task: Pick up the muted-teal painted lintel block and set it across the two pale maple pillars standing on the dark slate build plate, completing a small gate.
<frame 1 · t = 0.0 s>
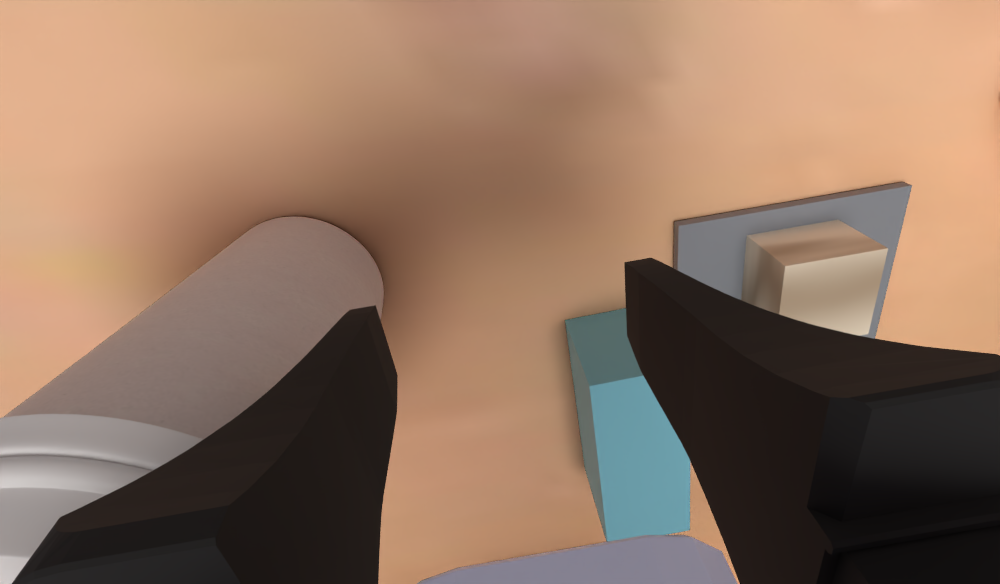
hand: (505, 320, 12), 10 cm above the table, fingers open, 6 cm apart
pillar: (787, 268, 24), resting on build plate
coffee cup: (308, 284, 23), on the table, touching gripper
build plate: (774, 318, 26), on the table
lintel: (613, 391, 28), on the table
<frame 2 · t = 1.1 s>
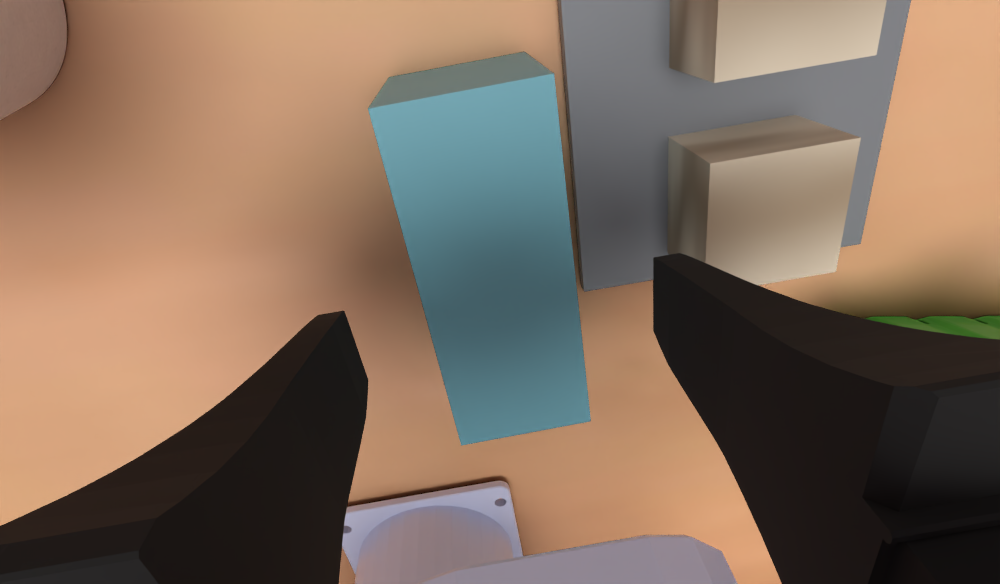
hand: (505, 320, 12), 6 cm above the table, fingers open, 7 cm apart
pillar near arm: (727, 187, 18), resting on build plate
fruit basket: (890, 351, 23), on the table
build plate: (726, 89, 16), on the table
lintel: (486, 220, 18), on the table
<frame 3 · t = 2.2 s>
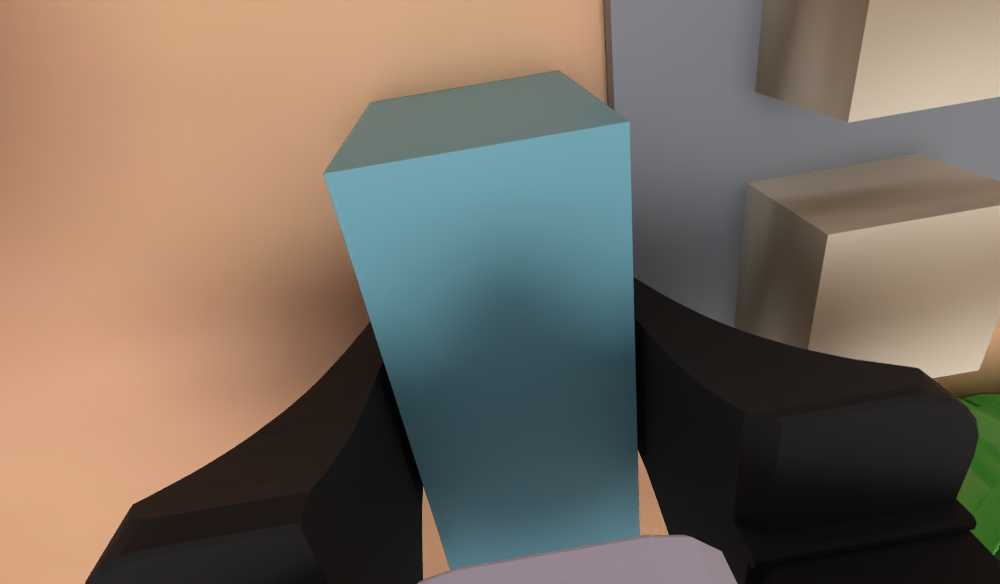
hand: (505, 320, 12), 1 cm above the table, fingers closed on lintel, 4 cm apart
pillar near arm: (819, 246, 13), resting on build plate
fruit basket: (993, 431, 18), on the table
build plate: (826, 119, 12), on the table
lintel: (499, 290, 14), on the table, touching gripper
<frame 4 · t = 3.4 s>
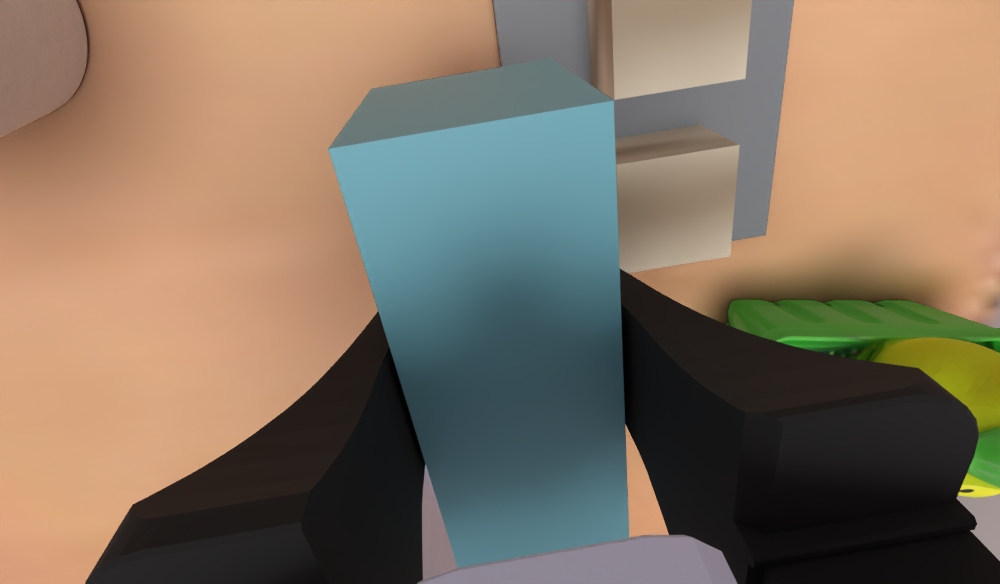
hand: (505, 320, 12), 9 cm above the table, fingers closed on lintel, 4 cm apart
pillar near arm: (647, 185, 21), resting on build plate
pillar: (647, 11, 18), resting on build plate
fruit basket: (804, 331, 26), on the table
build plate: (642, 102, 20), on the table
lintel: (495, 272, 14), point 7 cm above the table, touching gripper
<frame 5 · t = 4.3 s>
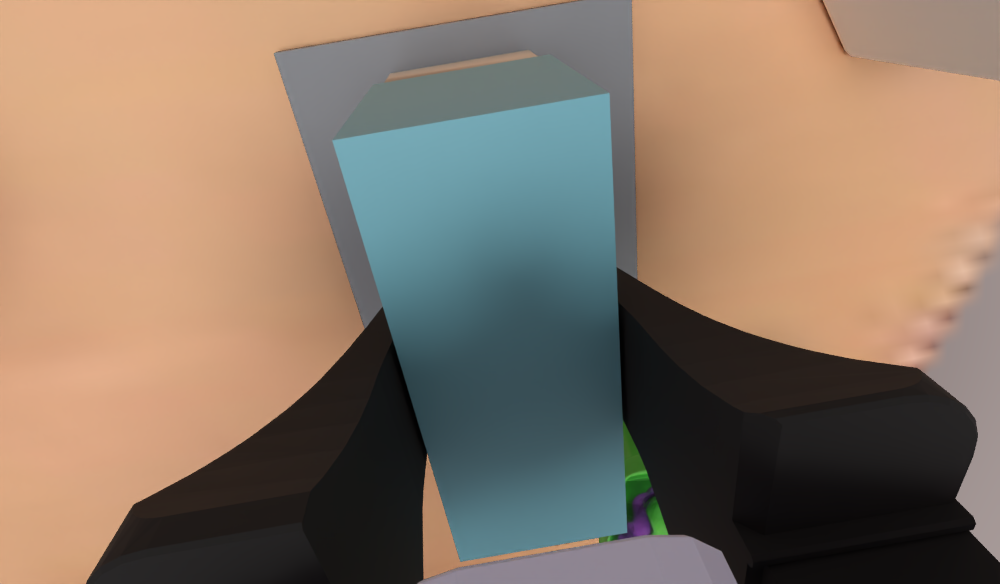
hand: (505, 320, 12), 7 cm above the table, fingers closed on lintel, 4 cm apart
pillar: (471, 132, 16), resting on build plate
fruit basket: (700, 428, 24), on the table
build plate: (486, 217, 18), on the table
lintel: (495, 265, 14), point 4 cm above the table, touching gripper
when the fingers open (6 cm above the table, at t = 4.8 s): lintel stays where it is, resting on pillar, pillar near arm.
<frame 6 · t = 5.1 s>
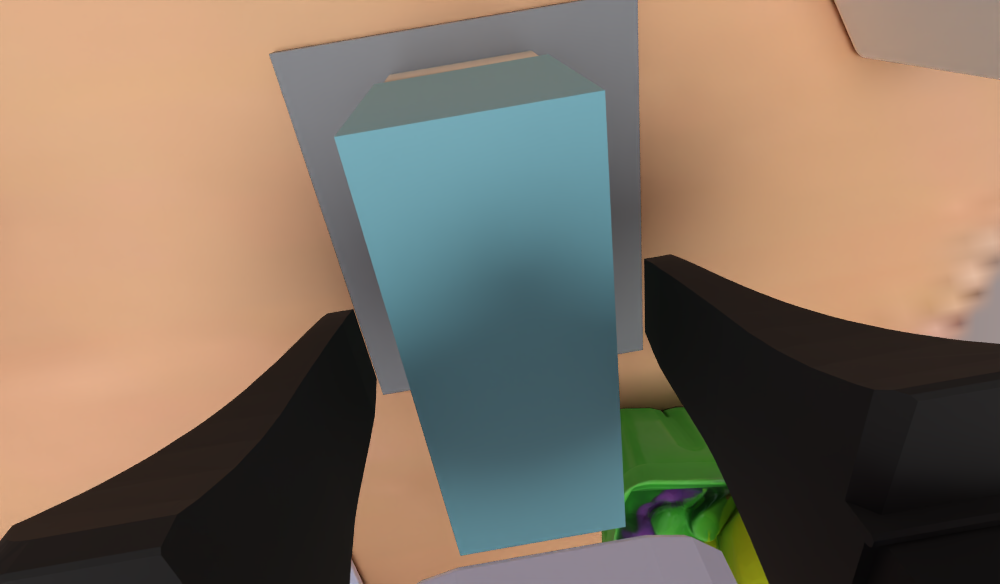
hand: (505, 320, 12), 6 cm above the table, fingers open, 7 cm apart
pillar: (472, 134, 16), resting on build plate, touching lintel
fruit basket: (704, 435, 24), on the table
build plate: (487, 221, 18), on the table
lintel: (494, 263, 15), point 3 cm above the table, touching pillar, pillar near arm
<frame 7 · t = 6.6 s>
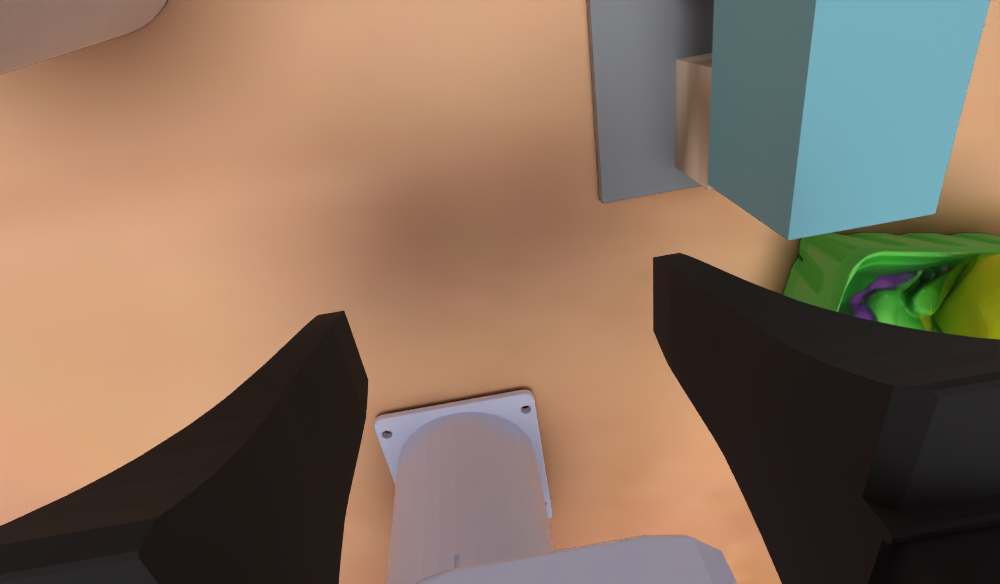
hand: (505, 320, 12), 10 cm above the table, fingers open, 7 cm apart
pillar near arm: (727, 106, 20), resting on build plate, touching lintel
fruit basket: (874, 268, 25), on the table
build plate: (725, 18, 19), on the table
lintel: (777, 14, 16), point 3 cm above the table, touching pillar, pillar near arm
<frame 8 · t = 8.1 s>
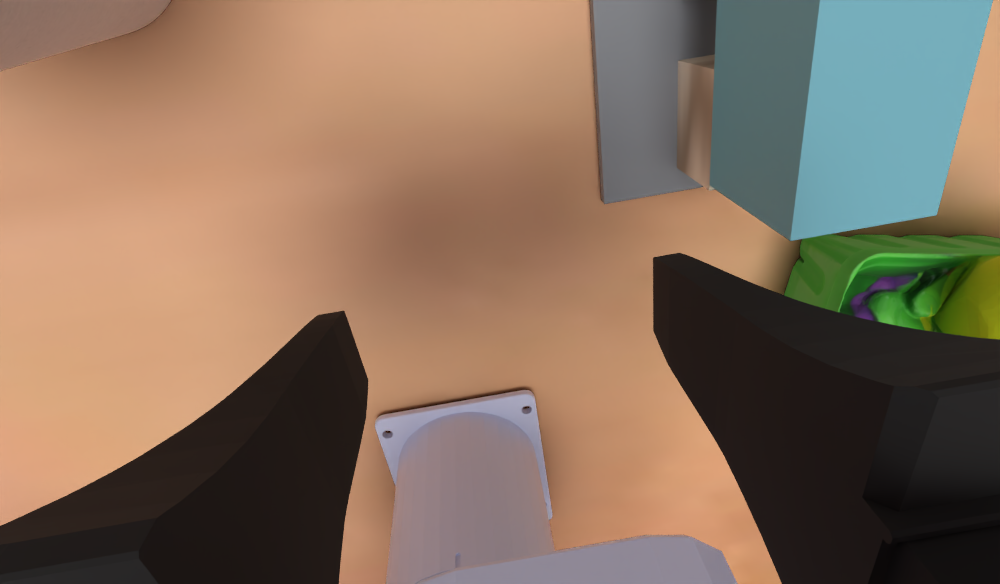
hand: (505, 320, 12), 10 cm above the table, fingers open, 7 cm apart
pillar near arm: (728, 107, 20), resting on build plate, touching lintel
fruit basket: (874, 270, 26), on the table
build plate: (727, 20, 19), on the table
lintel: (780, 16, 16), point 3 cm above the table, touching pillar, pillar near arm
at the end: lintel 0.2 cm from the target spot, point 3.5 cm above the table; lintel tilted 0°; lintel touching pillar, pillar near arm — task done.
